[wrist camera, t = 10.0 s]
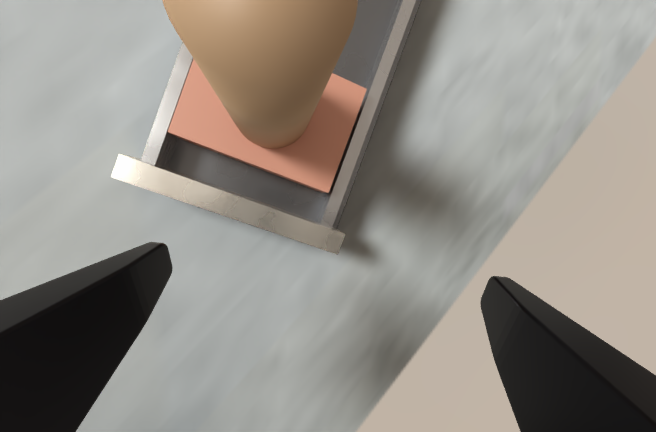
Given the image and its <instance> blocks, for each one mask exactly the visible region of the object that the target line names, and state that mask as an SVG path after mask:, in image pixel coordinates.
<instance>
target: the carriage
mask: <svg viewBox="0 0 656 432" xmlns="http://www.w3.org/2000/svg"><path fill="white" fill-rule="evenodd" d="M163 4H164V7H165V9H166V12H167V14H168V17H169V19H170V21H171V23H172V24H173V26H174V28H175V30H176V32H177V33H178V35H179V36H180V38H181V40H182V41H183V43H184V44H185V46H186V47H187V49H188V51H189V52H190V54H191V55H192V57H193V58H194V59H193V61H192V64H191V67H190V70H189V73H188V76H187V78H186V81H185V84H184V87H183V90H182V92H181V95H180V98H179V101H178V104H177V107H176V109H175V112H174V115H173V118H172V121H171V123H170V126H169V129H168V132H169V133H171V134H173V135H175V136H176V137H178V138H180V139H182V140H185V141H187V142H190V143H193V144H195V145H198V146H201V147H203V148H206V149H209V150H211V151H214V152H216V153H219V154H222V155H224V156H227V157H230V158H232V159H235V160H238V161H240V162H243V163H246V164H248V165H251V166H253V167H256V168H259V169H261V170H264V171H267V172H269V173H272V174H275V175H277V176H280V177H282V178H285V179H288V180H290V181H293V182H296V183H298V184H301V185H304V186H306V187H309V188H311V189H314V190H317V191H319V192H322V193H329V190H330V188H331V185H332V182H333V180H334V177H335V174H336V171H337V169H338V166H339V163H340V161H341V158H342V155H343V152H344V150H345V147H346V144H347V142H348V139H349V136H350V133H351V131H352V128H353V125H354V123H355V120H356V117H357V114H358V112H359V109H360V106H361V104H362V101H363V98H364V95H365V93H366V90H367V89H366V88H364V87H362V86H359V85H357V84H355V83H353V82H351V81H349V80H346V79H344V78H342V77H340V76H338V75H336V74H333V73H332V72H333V70H334V68H335V66H336V64H337V62H338V59H339V57H340V55H341V53H342V51H343V49H344V46H345V44H346V42H347V40H348V38H349V35H350V33H351V31H352V28H353V25H354V21H355V18H356V12H357V6H358V0H163Z"/></svg>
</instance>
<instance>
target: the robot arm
mask: <svg viewBox="0 0 656 432" xmlns="http://www.w3.org/2000/svg"><path fill="white" fill-rule="evenodd" d="M171 273H172V263H171V259H170V255H169V251H168V247H167V245H166V244H164V243H157V242H149V243H146V244H144V245H141V246H139V247H136V248H133V249H131V250H128V251H126V252H123V253H121V254H118V255H115V256H113V257H110V258H108V259H105V260H103V261H100V262H98V263H95V264H92V265H90V266H87V267H85V268H82V269H80V270H77V271H75V272H72V273H69V274H67V275H64V276H62V277H59V278H57V279H54V280H51V281H49V282H46V283H44V284H41V285H39V286H36V287H34V288H31V289H28V290H26V291H23V292H21V293H18V294H16V295H13V296H10V297H8V298H5V299H3V300H0V432H76V430H77V429H78V427H79V426H80V424H81V423H82V421H83V419H84V418H85V416H86V415H87V413H88V412H89V410H90V409H91V407H92V406H93V404H94V402H95V401H96V399H97V398H98V396H99V395H100V393H101V392H102V390H103V389H104V387H105V386H106V384H107V382H108V381H109V379H110V378H111V376H112V375H113V373H114V372H115V370H116V369H117V367H118V366H119V364H120V362H121V361H122V359H123V358H124V356H125V355H126V353H127V352H128V350H129V349H130V347H131V346H132V344H133V342H134V341H135V339H136V338H137V336H138V335H139V333H140V332H141V330H142V328H143V327H144V325H145V324H146V322H147V320H148V318H149V317H150V315H151V313H152V311H153V309H154V307H155V305H156V303H157V301H158V299H159V297H160V295H161V293H162V292H163V290H164V288H165V286H166V284H167V282H168V280H169V278H170V276H171ZM481 310H482V313H483V317H484V321H485V325H486V329H487V333H488V337H489V341H490V345H491V349H492V353H493V357H494V360H495V363H496V366H497V369H498V371H499V374H500V377H501V380H502V383H503V385H504V388H505V391H506V393H507V396H508V399H509V401H510V404H511V407H512V410H513V412H514V415H515V418H516V420H517V423H518V426H519V428H520V431H521V432H656V375H654V374H653V373H651V372H650V371H648V370H647V369H645V368H644V367H642V366H641V365H639V364H638V363H636V362H635V361H633V360H632V359H630V358H629V357H627V356H626V355H624V354H622V353H621V352H620V351H618V350H616V349H615V348H613V347H612V346H611V345H609V344H608V343H606V342H604V341H603V340H602V339H600V338H599V337H597V336H596V335H594V334H592V333H591V332H590V331H588V330H587V329H585V328H584V327H582V326H581V325H579V324H577V323H576V322H574V321H573V320H571V319H570V318H568V317H567V316H565V315H564V314H562V313H561V312H559V311H558V310H556V309H555V308H553V307H552V306H550V305H549V304H547V303H546V302H544V301H543V300H541V299H540V298H538V297H537V296H535V295H534V294H532V293H531V292H529V291H528V290H526V289H525V288H523V287H522V286H520V285H519V284H517V283H516V282H514V281H513V280H511V279H510V278H507V277H499V276H493V277H491V278H490V279H489V281H488V283H487V285H486V288H485V290H484V293H483V295H482V298H481Z"/></svg>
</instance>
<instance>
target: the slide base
mask: <svg viewBox="0 0 656 432" xmlns="http://www.w3.org/2000/svg"><path fill="white" fill-rule="evenodd" d="M420 2H421V0H358V6H357V12H356V18H355V21H354V25H353V28H352V31H351V33H350V35H349V38H348V40H347V42H346V44H345V46H344V49H343V51H342V53H341V55H340V57H339V59H338V62H337V64H336V66H335V68H334V70H333V72H332V73H333V74H336V75H338V76H340V77H342V78H344V79H346V80H349V81H351V82H353V83H355V84H357V85H359V86H362V87H364V88H366V89H367V90H366V93H365V95H364V98H363V101H362V104H361V106H360V109H359V112H358V114H357V117H356V120H355V123H354V125H353V128H352V131H351V133H350V136H349V139H348V142H347V144H346V147H345V150H344V152H343V155H342V158H341V161H340V163H339V166H338V169H337V171H336V174H335V177H334V180H333V182H332V185H331V188H330V190H329V193H322V192H319V191H317V190H314V189H311V188H309V187H306V186H304V185H301V184H298V183H296V182H293V181H290V180H288V179H285V178H282V177H280V176H277V175H275V174H272V173H269V172H267V171H264V170H261V169H259V168H256V167H253V166H251V165H248V164H246V163H243V162H240V161H238V160H235V159H232V158H230V157H227V156H224V155H222V154H219V153H216V152H214V151H211V150H209V149H206V148H203V147H201V146H198V145H195V144H193V143H190V142H187V141H185V140H182V139H180V138H178V137H176V136H175V135H173V134H171V133H169V132H168V129H169V126H170V123H171V121H172V118H173V115H174V112H175V109H176V107H177V104H178V101H179V98H180V95H181V92H182V90H183V87H184V84H185V81H186V78H187V76H188V73H189V70H190V67H191V64H192V61H193V59H194V58H193V57H192V55H191V54H190V52H189V51H188V49H187V47H186V46H185V44H184V43H183V42H182V45H181V47H180V50H179V53H178V56H177V59H176V62H175V64H174V67H173V70H172V73H171V76H170V79H169V81H168V84H167V87H166V90H165V93H164V96H163V98H162V101H161V104H160V107H159V110H158V113H157V115H156V118H155V121H154V124H153V127H152V130H151V132H150V135H149V138H148V141H147V144H146V147H145V149H144V152H143V155H142V158H141V159H139V158H135V157H131V156H126V155H122V154H119V155H118V158H117V161H116V164H115V167H114V169H113V172H112V175H111V177H112V178H115V179H118V180H121V181H124V182H127V183H130V184H132V185H135V186H138V187H141V188H144V189H147V190H150V191H153V192H156V193H159V194H162V195H165V196H168V197H171V198H174V199H176V200H179V201H182V202H185V203H188V204H191V205H194V206H197V207H200V208H203V209H206V210H209V211H212V212H215V213H217V214H220V215H223V216H226V217H229V218H232V219H235V220H238V221H241V222H244V223H247V224H250V225H253V226H256V227H259V228H261V229H264V230H267V231H270V232H273V233H276V234H279V235H282V236H285V237H288V238H291V239H294V240H297V241H300V242H303V243H305V244H308V245H311V246H314V247H317V248H320V249H323V250H326V251H329V252H332V253H335V254H338V253H339V250H340V247H341V245H342V242H343V239H344V237H345V234H344V233H342V232H341V231H339V230H338V229H337V226H338V224H339V221H340V218H341V216H342V213H343V210H344V208H345V205H346V202H347V199H348V197H349V194H350V191H351V189H352V186H353V183H354V181H355V178H356V175H357V172H358V170H359V167H360V164H361V162H362V159H363V156H364V154H365V151H366V148H367V145H368V143H369V140H370V137H371V135H372V132H373V129H374V127H375V124H376V121H377V118H378V116H379V113H380V110H381V108H382V105H383V102H384V100H385V97H386V94H387V91H388V89H389V86H390V83H391V81H392V78H393V75H394V73H395V70H396V67H397V64H398V62H399V59H400V56H401V54H402V51H403V48H404V45H405V43H406V40H407V37H408V35H409V32H410V29H411V27H412V24H413V21H414V18H415V16H416V13H417V10H418V8H419V5H420Z"/></svg>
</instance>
